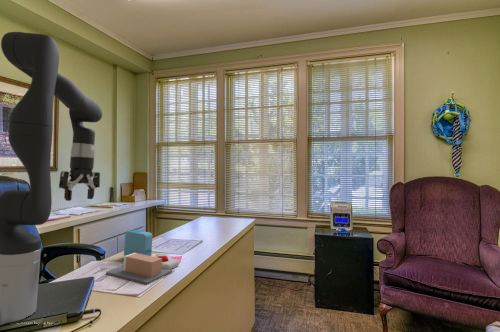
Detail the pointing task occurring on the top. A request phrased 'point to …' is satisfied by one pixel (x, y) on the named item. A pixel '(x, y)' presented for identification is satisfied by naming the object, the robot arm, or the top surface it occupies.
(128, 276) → the mat
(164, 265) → the red push button
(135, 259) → the block
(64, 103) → the robot arm
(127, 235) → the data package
